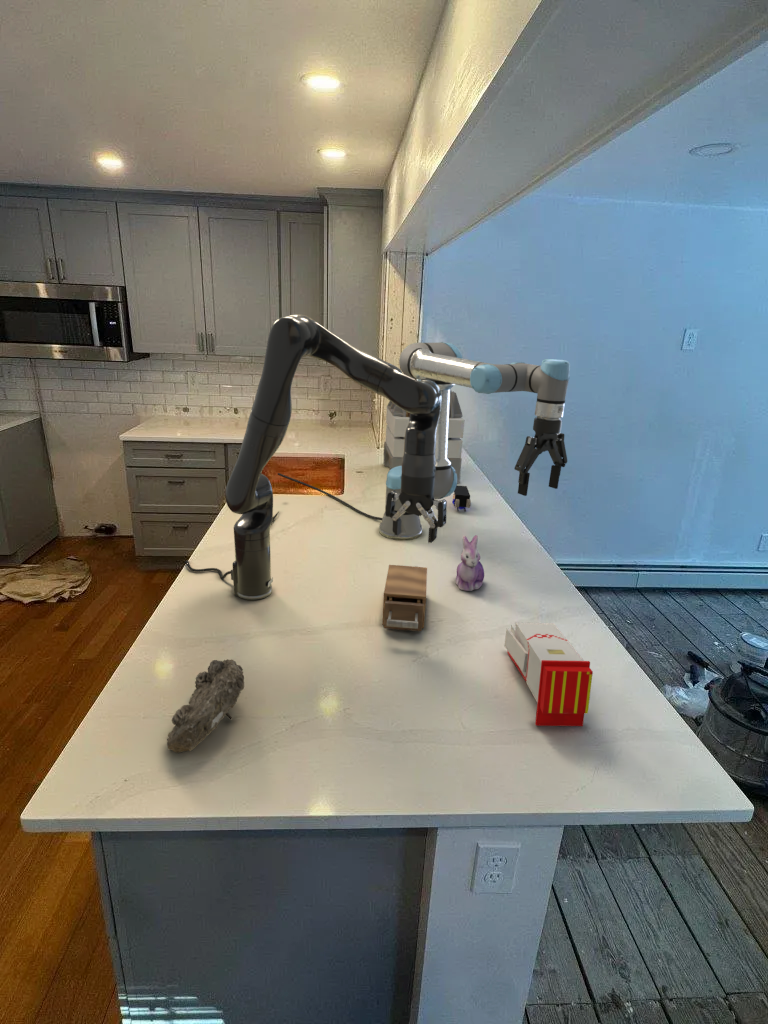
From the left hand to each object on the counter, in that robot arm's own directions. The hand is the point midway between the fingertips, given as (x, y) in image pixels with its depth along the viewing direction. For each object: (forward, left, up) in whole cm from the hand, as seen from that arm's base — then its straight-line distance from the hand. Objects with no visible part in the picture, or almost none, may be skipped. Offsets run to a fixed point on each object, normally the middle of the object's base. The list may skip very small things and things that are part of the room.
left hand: (414, 538), depth 133 cm
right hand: (+32, +39, +3) cm, 50 cm away
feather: (-58, +68, -24) cm, 92 cm away
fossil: (-33, -40, -24) cm, 57 cm away
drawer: (-1, +2, -23) cm, 24 cm away
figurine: (+15, +28, -24) cm, 40 cm away
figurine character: (+9, +96, -24) cm, 100 cm away
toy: (+30, -16, -24) cm, 42 cm away
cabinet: (-2, +9, -24) cm, 26 cm away
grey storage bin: (-12, +142, -24) cm, 145 cm away
